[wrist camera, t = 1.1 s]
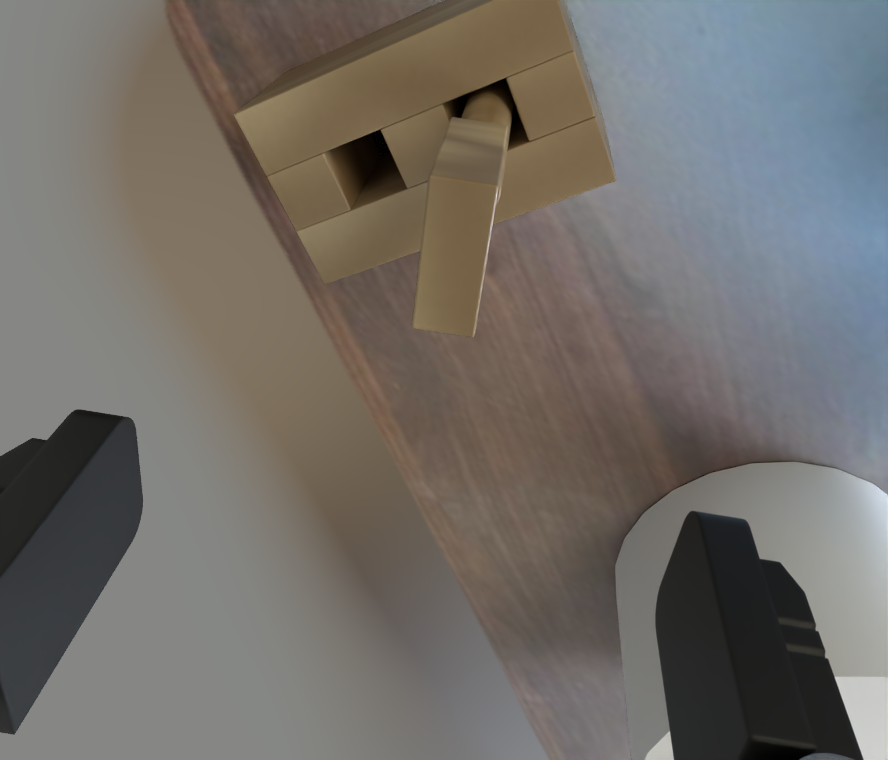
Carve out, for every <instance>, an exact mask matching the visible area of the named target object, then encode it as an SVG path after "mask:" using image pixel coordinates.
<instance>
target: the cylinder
mask: <svg viewBox="0 0 888 760" xmlns="http://www.w3.org/2000/svg"><path fill="white" fill-rule="evenodd" d="M690 511H698V512H704V513H710V514H716V515H722V516H729V517H735V518H741V519H745V520H746V521H747V522H748V524H749V526H750V529H751V532H752V535H753V538H754V542H755V545H756V548H757V552H758V555H759V558H760V559H765V560H771V561H777V562H780V563H781V564H782V565H783V566H784V568H785V569H786V570H787V571H788V572H789V574H790V575H791V576H792V577H793V579H794V580H795V581H796V582H797V584H798V585H799V586H800V587H801V588H802V590H803V591H804V592H805V594H806V597H807V600H808V603H809V606H810V609H811V611H812V614H813V617H814V620H815V623H816V631H819V634H820V637H821V640H822V643H823V646H824V648H825V651H826V652H825V658H827V659H828V660H829V663H830V665H831V668H832V671H833V674H834V677H835V680H836V682H837V685H838V688H839V691H840V694H841V697H842V700H843V702H844V705H845V708H846V711H847V714H848V717H849V719H850V722H851V725H852V728H853V731H854V734H855V737H856V739H857V742H858V745H859V748H860V751H861V754H862V756H863V759H864V760H888V495H887V494H885V493H884V492H883V491H882V490H880V489H879V488H878V487H877V486H876V485H874V484H873V483H870V482H868V481H865V480H863V479H861V478H858V477H856V476H853V475H851V474H849V473H846V472H844V471H842V470H839V469H836V468H830V467H824V466H818V465H812V464H806V463H800V462H774V463H751V464H747V465H743V466H738V467H734V468H730V469H726V470H721V471H717V472H713V473H709V474H707V475H705V476H703V477H700V478H698V479H696V480H694V481H692V482H690V483H687V484H685V485H683V486H681V487H679V488H677V489H674V490H672V491H671V492H670V493H669V494H667V495H666V496H665V497H663V498H662V499H661V500H660V501H658V502H657V503H656V504H654V505H653V506H652V507H650V508H649V509H648V510H647V511H645V512H644V513H643V514H642V516H641V517H640V518H639V520H638V521H637V522H636V524H635V525H634V526H633V528H632V529H631V530H630V532H629V533H628V534H627V536H626V537H625V538H624V541H623V544H622V547H621V550H620V553H619V555H618V558H617V561H616V564H615V579H616V599H617V610H618V621H619V632H620V644H621V655H622V666H623V677H624V688H625V700H626V711H627V722H628V733H629V744H630V756H631V760H674V757H673V750H672V742H671V735H670V728H669V721H668V714H667V707H666V700H665V693H664V686H663V678H662V671H661V664H660V657H659V650H658V643H657V636H656V628H655V612H656V602H657V596H658V591H659V587H660V584H661V581H662V579H663V576H664V573H665V571H666V568H667V565H668V563H669V560H670V557H671V555H672V552H673V549H674V547H675V544H676V541H677V538H678V536H679V533H680V530H681V528H682V525H683V522H684V520H685V518H686V516H687V515H688V513H689V512H690Z"/></svg>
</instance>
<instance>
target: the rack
mask: <svg viewBox="0 0 888 760" xmlns="http://www.w3.org/2000/svg"><path fill="white" fill-rule="evenodd" d="M504 78H506V80H507V83H508V86H509V88H510V91H511V94H512V97H513V99H514V102H515V103H514V108H513V115H512V122H511V128H510V135H509V142H508V149H507V156H506V162H505V169H504V176H503V183H502V190H501V195H500V199H499V201H498V203H497V205H496V208H495V214H494V220H493V225H494V224H496V223H499V222H502V221H505V220H508V219H510V218H513V217H516V216H519V215H522V214H524V213H527V212H530V211H533V210H536V209H538V208H541V207H544V206H547V205H550V204H552V203H555V202H558V201H561V200H564V199H567V198H569V197H572V196H575V195H578V194H581V193H583V192H586V191H589V190H592V189H595V188H597V187H600V186H603V185H606V184H609V183H611V182H614V181H616V176H615V171H614V166H613V161H612V156H611V151H610V146H609V141H608V136H607V131H606V126H605V123H604V120H603V117H602V114H601V111H600V108H599V104H598V101H597V98H596V95H595V92H594V89H593V86H592V83H591V79H590V76H589V74H588V70H587V67H586V64H585V61H584V58H583V54H582V51H581V48H580V45H579V42H578V39H577V36H576V32H575V29H574V26H573V23H572V20H571V18H570V14H569V10H568V7H567V4H566V1H565V0H445V1H443V2H440V3H438V4H436V5H434V6H432V7H429V8H427V9H425V10H423V11H420V12H418V13H416V14H414V15H412V16H409V17H407V18H405V19H403V20H400V21H398V22H396V23H394V24H392V25H389V26H387V27H385V28H383V29H380V30H378V31H376V32H374V33H372V34H369V35H367V36H365V37H363V38H361V39H358V40H356V41H354V42H352V43H349V44H347V45H345V46H343V47H341V48H338V49H336V50H334V51H332V52H329V53H327V54H325V55H323V56H321V57H318V58H316V59H314V60H312V61H309V62H307V63H305V64H303V65H301V66H298V67H296V68H294V69H292V70H289V71H287V72H285V73H284V74H283V75H281V76H280V77H279V78H278V79H276V80H275V81H274V82H273V83H272V84H270V85H269V86H268V87H267V88H265V89H264V90H263V91H262V92H261V93H259V94H258V95H257V96H256V97H255V98H253V99H252V100H251V101H250V102H248V103H247V104H246V105H245V106H244V107H242V108H241V109H240V110H239V111H237V112H236V113H235V114H234V116H235V118H236V120H237V122H238V124H239V126H240V128H241V130H242V131H243V133H244V135H245V137H246V139H247V141H248V143H249V145H250V146H251V148H252V150H253V152H254V154H255V156H256V158H257V159H258V161H259V163H260V165H261V167H262V169H263V171H264V173H265V174H266V175H268V176H267V178H268V180H269V182H270V184H271V186H272V187H273V189H274V191H275V193H276V195H277V197H278V199H279V200H280V202H281V204H282V206H283V208H284V210H285V212H286V214H287V215H288V217H289V219H290V221H291V223H292V225H293V227H294V229H295V230H296V232H297V234H298V236H299V238H300V240H301V242H302V244H303V246H304V247H305V249H306V251H307V253H308V255H309V257H310V259H311V260H312V262H313V264H314V266H315V268H316V270H317V272H318V274H319V275H320V277H321V279H322V281H323V283H324V284H328V283H331V282H334V281H336V280H339V279H342V278H345V277H348V276H351V275H353V274H356V273H359V272H362V271H365V270H367V269H370V268H373V267H376V266H379V265H381V264H384V263H387V262H390V261H393V260H395V259H398V258H401V257H404V256H407V255H409V254H412V253H415V252H418V251H420V249H421V240H422V232H423V223H424V214H425V205H426V196H427V188H428V179H429V175H430V172H431V170H432V167H433V165H434V162H435V159H436V157H437V154H438V151H439V149H440V146H441V143H442V141H443V138H444V135H445V133H446V130H447V128H448V125H449V122H450V120H451V118H452V117H456V118H461V117H462V114H463V112H464V109H465V106H466V103H467V100H468V97H469V94H470V92H472V91H475V90H477V89H479V88H482V87H484V86H487V85H489V84H492V83H494V82H496V81H499V80H501V79H504ZM380 129H381V132H382V134H383V136H384V139H385V141H386V143H387V145H388V147H389V150H390V153H387V154H385V155H382V156H381V153H380V151H379V149H378V146H377V144H376V142H375V140H374V138H373V135H372V132H375V131H377V130H380Z"/></svg>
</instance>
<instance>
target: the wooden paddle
mask: <svg viewBox="0 0 888 760" xmlns="http://www.w3.org/2000/svg"><path fill="white" fill-rule="evenodd" d="M513 108H514V99H513V97H512V94H511V91H510V88H509V86H508V83H507V80H506V78H504V79H501V80H499V81H496V82H494V83H492V84H489V85H487V86H484V87H482V88H479V89H477V90H475V91H472V92H470V94H469V97H468V100H467V103H466V106H465V109H464V112H463V114H462V117H461V118H456V117H452V118H451V120H450V122H449V125H448V128H447V130H446V133H445V135H444V138H443V141H442V143H441V146H440V149H439V151H438V154H437V157H436V159H435V162H434V165H433V167H432V170H431V172H430V175H429V179H428V188H427V196H426V205H425V214H424V223H423V232H422V240H421V249H420V258H419V267H418V275H417V284H416V293H415V302H414V310H413V319H412V327H413V328H416V329H422V330H428V331H434V332H441V333H447V334H453V335H459V336H465V337H474V335H475V330H476V324H477V318H478V312H479V306H480V300H481V294H482V287H483V281H484V275H485V269H486V263H487V257H488V251H489V245H490V238H491V232H492V226H493V220H494V214H495V208H496V205H497V203H498V201H499V199H500V195H501V190H502V183H503V176H504V169H505V162H506V156H507V149H508V142H509V135H510V128H511V122H512V115H513Z"/></svg>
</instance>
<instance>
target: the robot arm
mask: <svg viewBox="0 0 888 760" xmlns="http://www.w3.org/2000/svg"><path fill="white" fill-rule="evenodd" d="M142 507H143V495H142V486H141V475H140V465H139V455H138V445H137V436H136V428H135V424H134V422H133V420H132V419H131V418H129V417H123V416H117V415H111V414H105V413H98V412H92V411H86V410H75V411H73V412H72V413H71V414H70V415H69V416H68V417H67V418H66V419H65V420H64V422H63V423H62V424H61V425H60V426H59V427H58V428H57V429H56V431H55V432H54V433H53V434H52V435H51V436H50V438H49V439H48V440H42V439H36V438H32V439H30V440H28V441H26V442H25V443H23V444H21V445H19V446H18V447H16V448H14V449H12V450H11V451H9V452H7V453H5V454H4V455H2V456H0V732H2V733H8V734H15V733H16V731H17V730H18V728H19V726H20V725H21V723H22V721H23V720H24V718H25V716H26V715H27V713H28V712H29V710H30V708H31V707H32V705H33V703H34V702H35V700H36V698H37V697H38V695H39V694H40V692H41V690H42V689H43V687H44V685H45V684H46V682H47V680H48V679H49V677H50V675H51V674H52V672H53V670H54V669H55V667H56V666H57V664H58V662H59V661H60V659H61V657H62V656H63V654H64V653H65V651H66V649H67V648H68V646H69V644H70V643H71V641H72V639H73V638H74V636H75V635H76V633H77V631H78V629H79V628H80V626H81V625H82V623H83V621H84V620H85V618H86V616H87V615H88V613H89V612H90V610H91V608H92V607H93V605H94V603H95V602H96V600H97V598H98V597H99V595H100V593H101V592H102V590H103V589H104V587H105V585H106V584H107V582H108V580H109V578H110V577H111V576H112V573H113V572H114V571H115V569H116V567H117V566H118V564H119V562H120V561H121V559H122V557H123V556H124V554H125V553H126V551H127V549H128V547H129V546H130V544H131V542H132V541H133V539H134V537H135V535H136V532H137V530H138V527H139V523H140V519H141V514H142ZM655 628H656V636H657V643H658V650H659V657H660V664H661V671H662V678H663V686H664V693H665V700H666V707H667V714H668V721H669V728H670V735H671V742H672V750H673V757H674V760H864V759H863V756H862V754H861V751H860V748H859V745H858V742H857V739H856V737H855V734H854V731H853V728H852V725H851V722H850V719H849V717H848V714H847V711H846V708H845V705H844V702H843V700H842V697H841V694H840V691H839V688H838V685H837V682H836V680H835V677H834V674H833V671H832V668H831V665H830V663H829V660H828V659H827V658H825V652H826V651H825V648H824V646H823V643H822V640H821V637H820V634H819V631H816V623H815V620H814V617H813V614H812V611H811V609H810V606H809V603H808V600H807V597H806V594H805V592H804V591H803V590H802V588H801V587H800V586H799V585H798V584H797V582H796V581H795V580H794V579H793V577H792V576H791V575H790V574H789V572H788V571H787V570H786V569H785V568H784V566H783V565H782V564H781V563H780V562H777V561H771V560H765V559H760V558H759V555H758V552H757V548H756V545H755V542H754V538H753V535H752V532H751V529H750V526H749V524H748V522H747V521H746V520H745V519H741V518H735V517H729V516H722V515H716V514H710V513H704V512H698V511H690V512H689V513H688V515H687V516H686V518H685V520H684V522H683V525H682V528H681V530H680V533H679V536H678V538H677V541H676V544H675V547H674V549H673V552H672V555H671V557H670V560H669V563H668V565H667V568H666V571H665V573H664V576H663V579H662V581H661V584H660V587H659V591H658V596H657V602H656V612H655Z"/></svg>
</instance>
